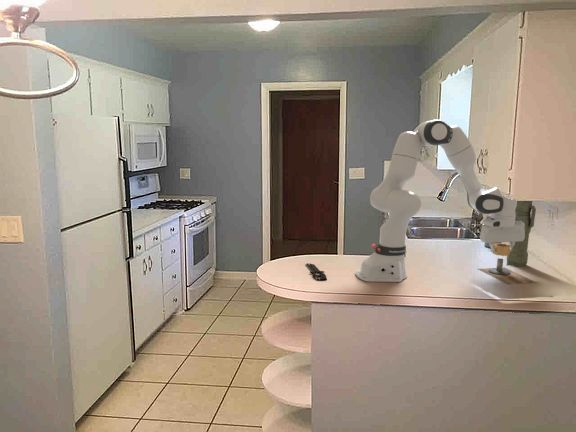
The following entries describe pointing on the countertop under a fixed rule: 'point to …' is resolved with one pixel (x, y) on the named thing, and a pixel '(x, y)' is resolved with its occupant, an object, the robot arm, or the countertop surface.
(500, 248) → the coil ring
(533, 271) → the countertop surface
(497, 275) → the bobbin board
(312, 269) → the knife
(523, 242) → the thermos
